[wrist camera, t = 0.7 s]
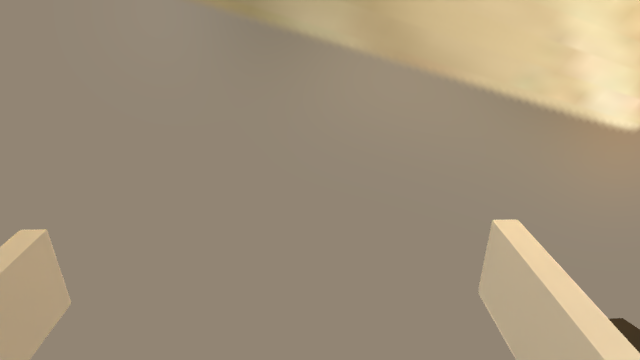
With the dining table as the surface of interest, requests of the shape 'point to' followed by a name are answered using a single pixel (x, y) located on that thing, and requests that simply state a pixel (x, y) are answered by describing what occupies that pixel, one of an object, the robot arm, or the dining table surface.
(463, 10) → the dining table surface
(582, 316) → the robot arm
